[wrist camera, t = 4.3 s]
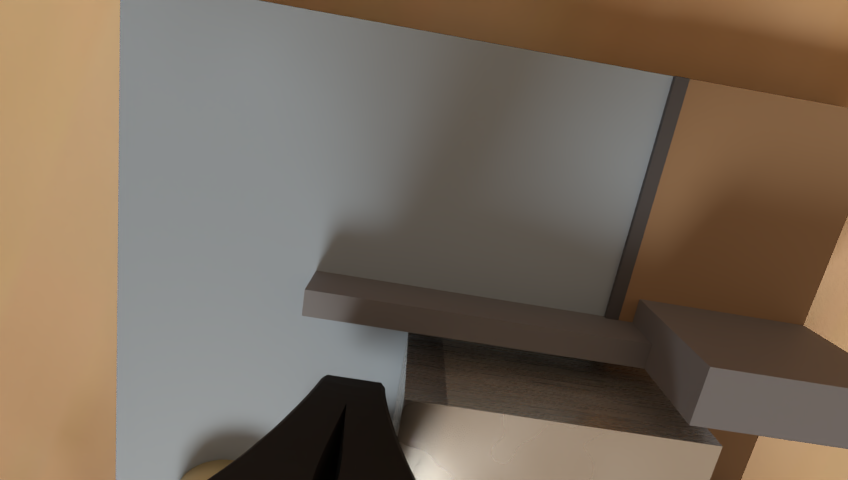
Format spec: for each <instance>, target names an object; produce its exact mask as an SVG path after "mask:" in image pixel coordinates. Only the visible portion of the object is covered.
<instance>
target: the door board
mask: <svg viewBox="0 0 848 480" xmlns="http://www.w3.org/2000/svg"><path fill="white" fill-rule="evenodd" d="M847 216H848V108H847V107H841V106H836V105H830V104H825V103H819V102H814V101H808V100H803V99H798V98H792V97H787V96H781V95H776V94H770V93H765V92H759V91H754V90H748V89H743V88H738V87H732V86H727V85H721V84H716V83H710V82H705V81H699V80H694V79H689V78H684V77H678V76H669V75H664V74H658V73H653V72H647V71H642V70H636V69H631V68H625V67H620V66H614V65H609V64H603V63H598V62H593V61H587V60H582V59H576V58H571V57H565V56H560V55H554V54H549V53H543V52H538V51H532V50H527V49H522V48H516V47H511V46H505V45H500V44H494V43H489V42H483V41H478V40H472V39H467V38H461V37H456V36H451V35H445V34H440V33H434V32H429V31H423V30H418V29H412V28H407V27H401V26H396V25H390V24H385V23H380V22H374V21H369V20H363V19H358V18H352V17H347V16H341V15H336V14H330V13H325V12H319V11H314V10H309V9H303V8H298V7H292V6H287V5H281V4H276V3H270V2H265V1H259V0H120V90H119V195H118V299H117V404H116V480H207V479H209V478H210V477H212V476H213V475H215V474H216V473H218V472H219V471H220V470H222V469H223V468H225V467H226V466H227V465H229V464H230V463H232V462H233V461H234V460H236V459H237V458H238V457H240V456H241V455H242V454H243V453H245V452H246V451H247V450H248V449H250V448H251V447H252V446H253V445H254V444H256V443H257V442H258V441H259V440H260V439H261V438H263V437H264V436H265V435H266V434H267V433H269V432H270V431H271V430H272V429H273V428H274V427H275V426H277V425H278V424H279V423H280V422H281V421H282V420H283V419H284V418H285V417H286V416H287V415H288V414H289V413H290V412H291V411H292V410H293V409H294V408H295V407H296V406H297V405H298V404H299V403H300V402H301V401H302V400H303V399H304V398H305V397H306V396H307V395H308V394H309V392H310V391H311V390H312V389H313V388H314V387H315V385H316V384H317V383H318V382H319V381H320V379H321V378H323V377H324V376H326V375H333V376H340V377H347V378H353V379H360V380H367V381H373V382H380V383H382V385H383V386H384V387H385V394H386V400H387V405H388V409H389V413H390V416H391V420H393V415H394V409H395V403H396V398H397V392H398V387H399V381H400V375H401V370H402V364H403V358H404V353H405V347H406V342H407V336H408V332H410V333H417V334H423V335H430V336H436V337H443V338H449V339H455V340H462V341H468V342H475V343H481V344H488V345H494V346H501V347H507V348H514V349H520V350H527V351H533V352H540V353H546V354H552V355H559V356H565V357H572V358H578V359H585V360H591V361H598V362H604V363H611V364H617V365H624V366H630V367H637V368H643V369H645V370H646V372H647V373H648V374H649V375H650V377H651V378H652V379H653V380H654V382H655V383H656V384H657V385H658V387H659V388H660V389H661V390H662V392H663V393H664V394H665V395H666V397H667V398H668V399H669V400H670V402H671V403H672V404H673V405H674V407H675V408H676V409H677V410H678V412H679V413H680V414H681V415H682V417H683V418H684V419H685V420H686V422H687V423H688V424H689V425H691V426H698V427H705V428H707V429H708V430H709V431H710V432H711V433H712V434H713V436H714V437H715V438H716V439H717V440H718V442H719V443H720V444H721V445H722V446H723V447H722V450H721V452H720V455H719V458H718V460H717V463H716V465H715V468H714V471H713V473H712V476H711V478H710V480H741V478H742V475H743V473H744V470H745V468H746V465H747V463H748V461H749V458H750V456H751V453H752V451H753V448H754V446H755V443H756V441H757V438H758V436H765V437H771V438H778V439H785V440H791V441H798V442H805V443H811V444H818V445H825V446H831V447H838V448H845V449H848V353H847V352H846V351H844V350H842V349H841V348H839V347H838V346H836V345H834V344H833V343H831V342H829V341H828V340H826V339H825V338H823V337H821V336H820V335H818V334H816V333H815V332H813V331H812V330H810V329H808V328H807V327H805V326H803V325H804V322H805V320H806V317H807V315H808V312H809V310H810V307H811V305H812V302H813V300H814V297H815V295H816V292H817V290H818V287H819V285H820V282H821V280H822V278H823V275H824V273H825V270H826V268H827V265H828V263H829V260H830V258H831V255H832V253H833V250H834V248H835V245H836V243H837V240H838V238H839V236H840V233H841V231H842V228H843V226H844V223H845V221H846V218H847Z"/></svg>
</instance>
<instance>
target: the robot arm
mask: <svg viewBox="0 0 848 480" xmlns="http://www.w3.org/2000/svg"><path fill="white" fill-rule="evenodd" d="M207 480H416V479H415V477H414V475H413V473H412V471H411V469H410V466H409V464H408V462H407V460H406V458H405V455H404V453H403V450H402V448H401V445H400V443H399V440H398V437H397V435H396V432H395V429H394V426H393V423H392V420H391V416H390V413H389V409H388V405H387V400H386V394H385V387H384V386H383V385H382V383H380V382H373V381H367V380H360V379H353V378H347V377H340V376H333V375H326V376H324V377H323V378H321V379H320V381H319V382H318V383H317V384H316V385H315V387H314V388H313V389H312V390H311V391H310V392H309V394H308V395H307V396H306V397H305V398H304V399H303V400H302V401H301V402H300V403H299V404H298V405H297V406H296V407H295V408H294V409H293V410H292V411H291V412H290V413H289V414H288V415H287V416H286V417H285V418H284V419H283V420H282V421H281V422H280V423H279V424H278V425H277V426H275V427H274V428H273V429H272V430H271V431H270V432H269V433H267V434H266V435H265V436H264V437H263V438H261V439H260V440H259V441H258V442H257V443H256V444H254V445H253V446H252V447H251V448H250V449H248V450H247V451H246V452H245V453H243V454H242V455H241V456H240V457H238V458H237V459H236V460H234V461H233V462H232V463H230V464H229V465H227V466H226V467H225V468H223V469H222V470H220V471H219V472H218V473H216V474H215V475H213V476H212V477H210V478H209V479H207Z"/></svg>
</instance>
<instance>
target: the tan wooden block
mask: <svg viewBox="0 0 848 480" xmlns="http://www.w3.org/2000/svg"><path fill="white" fill-rule="evenodd" d="M392 423H393V426H394V429H395V432H396V435H397V437H398V440H399V443H400V445H401V448H402V450H403V453H404V455H405V458H406V460H407V462H408V464H409V466H410V469H411V471H412V473H413V475H414V477H415V479H416V480H710V478H711V476H712V473H713V471H714V468H715V465H716V463H717V460H718V458H719V455H720V452H721V450H722V447H723V446H722V445H721V444H720V443H719V442H718V440H717V439H716V438H715V437H714V436H713V434H712V433H711V432H710V431H709V430H708V429H707V428H705V427H698V426H691V425H689V424H688V423H687V422H686V420H685V419H684V418H683V417H682V415H681V414H680V413H679V412H678V410H677V409H676V408H675V407H674V405H673V404H672V403H671V402H670V400H669V399H668V398H667V397H666V395H665V394H664V393H663V392H662V390H661V389H660V388H659V387H658V385H657V384H656V383H655V382H654V380H653V379H652V378H651V377H650V375H649V374H648V373H647V372H646V370H645V369H643V368H637V367H630V366H624V365H617V364H611V363H604V362H598V361H591V360H585V359H578V358H572V357H565V356H559V355H552V354H546V353H540V352H533V351H527V350H520V349H514V348H507V347H501V346H494V345H488V344H481V343H475V342H468V341H462V340H455V339H449V338H443V337H436V336H430V335H423V334H417V333H410V332H408V336H407V342H406V347H405V353H404V358H403V364H402V370H401V375H400V381H399V387H398V392H397V398H396V403H395V409H394V415H393V420H392Z"/></svg>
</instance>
